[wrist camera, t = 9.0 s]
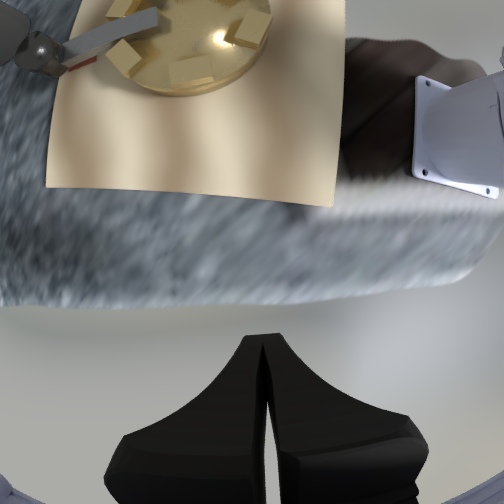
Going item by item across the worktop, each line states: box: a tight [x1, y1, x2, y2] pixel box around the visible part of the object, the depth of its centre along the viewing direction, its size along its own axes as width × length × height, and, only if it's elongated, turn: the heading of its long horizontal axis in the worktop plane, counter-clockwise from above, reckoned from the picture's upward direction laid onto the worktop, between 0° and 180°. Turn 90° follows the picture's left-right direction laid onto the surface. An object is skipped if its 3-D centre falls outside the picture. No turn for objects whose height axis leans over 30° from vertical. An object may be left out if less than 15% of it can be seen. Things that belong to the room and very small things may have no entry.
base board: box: [46, 0, 345, 208], centre depth 16 cm, size 20×22×2 cm
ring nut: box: [15, 0, 273, 97], centre depth 13 cm, size 10×15×6 cm, turn 99°
